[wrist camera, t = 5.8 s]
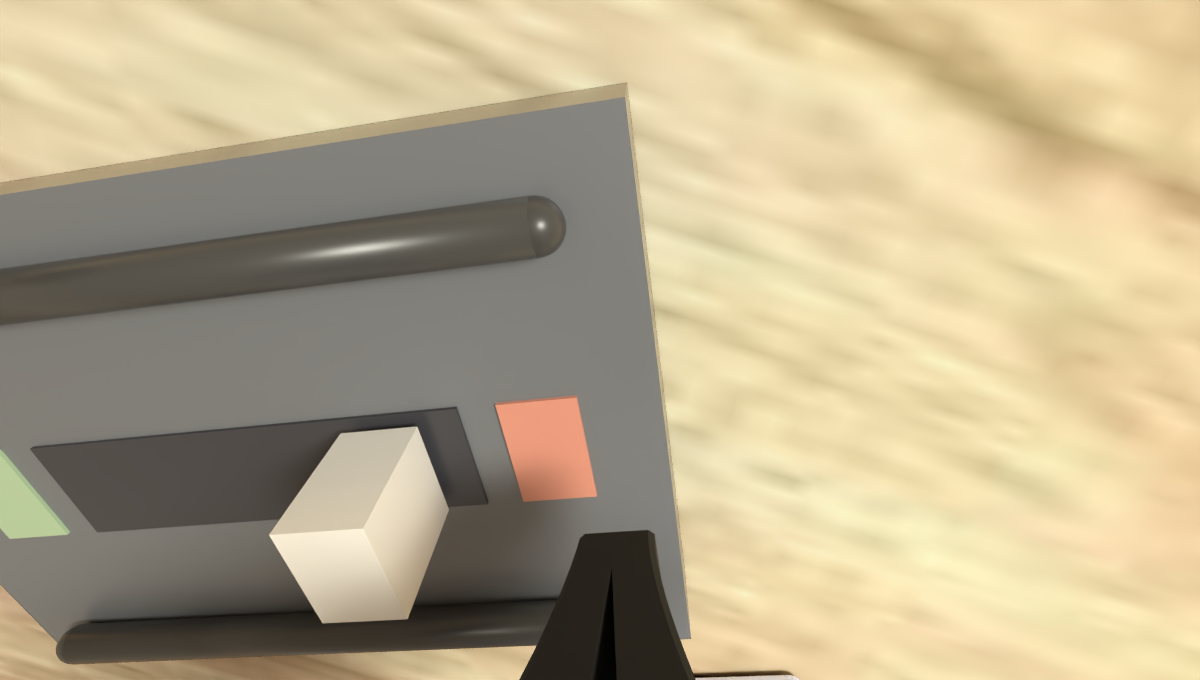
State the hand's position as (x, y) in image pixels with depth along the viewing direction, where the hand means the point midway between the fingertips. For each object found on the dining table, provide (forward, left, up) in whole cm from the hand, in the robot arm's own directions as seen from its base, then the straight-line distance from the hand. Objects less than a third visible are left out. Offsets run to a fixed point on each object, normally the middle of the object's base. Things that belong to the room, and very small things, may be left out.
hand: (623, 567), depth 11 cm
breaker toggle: (0, +6, -3) cm, 7 cm away
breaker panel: (0, +10, -6) cm, 12 cm away
